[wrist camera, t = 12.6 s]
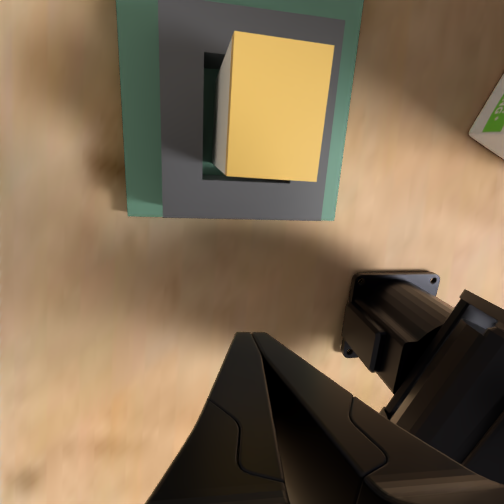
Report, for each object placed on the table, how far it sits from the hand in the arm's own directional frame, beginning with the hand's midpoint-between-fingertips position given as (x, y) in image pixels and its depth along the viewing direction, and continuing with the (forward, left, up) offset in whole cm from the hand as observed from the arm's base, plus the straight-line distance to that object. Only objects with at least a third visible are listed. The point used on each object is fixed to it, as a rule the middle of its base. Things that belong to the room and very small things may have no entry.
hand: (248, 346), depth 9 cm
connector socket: (-1, -6, -11) cm, 13 cm away
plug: (-1, -6, -11) cm, 13 cm away
